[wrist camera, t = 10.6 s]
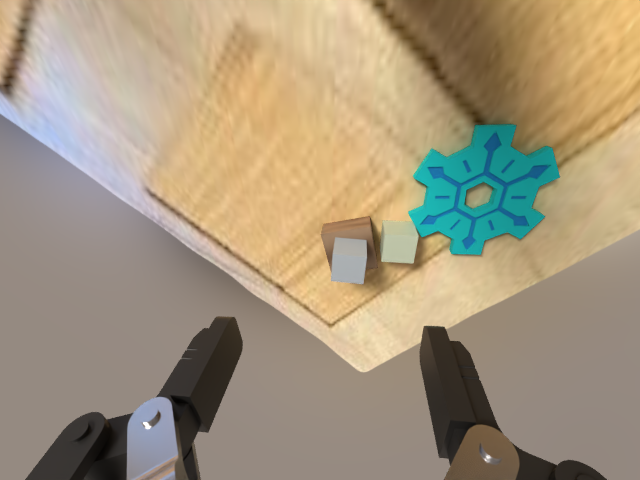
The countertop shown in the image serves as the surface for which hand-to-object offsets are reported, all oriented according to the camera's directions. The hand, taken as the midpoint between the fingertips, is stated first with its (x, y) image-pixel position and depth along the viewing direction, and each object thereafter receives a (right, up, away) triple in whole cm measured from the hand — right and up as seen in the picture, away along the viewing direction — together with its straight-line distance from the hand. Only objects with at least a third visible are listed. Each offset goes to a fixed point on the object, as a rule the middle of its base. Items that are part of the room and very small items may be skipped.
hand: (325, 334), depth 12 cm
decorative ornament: (+24, +11, +32) cm, 41 cm away
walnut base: (+5, +4, +38) cm, 39 cm away
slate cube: (+5, +2, +35) cm, 35 cm away
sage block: (+15, +4, +34) cm, 37 cm away
